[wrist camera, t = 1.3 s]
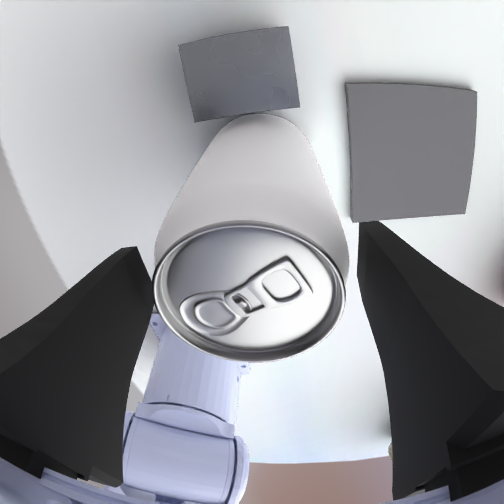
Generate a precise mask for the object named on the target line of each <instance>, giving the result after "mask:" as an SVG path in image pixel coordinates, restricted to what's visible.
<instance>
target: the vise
mask: <svg viewBox="0 0 504 504" xmlns="http://www.w3.org/2000/svg"><path fill="white" fill-rule="evenodd" d="M178 46H179V51H180V56H181V60H182V65H183V70H184V75H185V79H186V84H187V89H188V94H189V98H190V103H191V107H192V112H193V116H194V121H195V122H200V121H205V120H210V119H216V118H222V117H228V116H234V115H240V114H247V113H254V112H262V111H270V110H279V109H288V108H298V107H300V103H299V95H298V87H297V80H296V73H295V66H294V59H293V52H292V46H291V40H290V34H289V28H288V26H285V27H275V28H266V29H258V30H251V31H244V32H238V33H232V34H227V35H221V36H216V37H211V38H207V39H202V40H198V41H193V42H189V43H185V44H181V45H178Z"/></svg>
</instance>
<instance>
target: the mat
mask: <svg viewBox="0 0 504 504" xmlns="http://www.w3.org/2000/svg"><path fill="white" fill-rule="evenodd" d="M345 89H346V101H347V114H348V129H349V148H350V179H351V220H352V222H353V223H355V222H366V221H378V220H390V219H402V218H415V217H428V216H441V215H455V214H465V211H466V206H467V200H468V194H469V188H470V181H471V174H472V166H473V157H474V147H475V135H476V118H477V92H476V91H473V90H468V89H460V88H452V87H442V86H431V85H418V84H399V83H345Z"/></svg>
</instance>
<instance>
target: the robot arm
mask: <svg viewBox="0 0 504 504" xmlns="http://www.w3.org/2000/svg"><path fill="white" fill-rule="evenodd" d="M357 278H358V283H359V288H360V292H361V297H362V302H363V305H364V308H365V311H366V314H367V317H368V320H369V323H370V326H371V330H372V333H373V336H374V339H375V342H376V345H377V349H378V352H379V355H380V359H381V363H382V367H383V371H384V377H385V383H386V390H387V396H388V404H389V413H390V423H391V436H392V455H393V487H392V493H393V501H390V502H386V503H380V504H504V307H502V306H500V305H498V304H496V303H494V302H493V301H491V300H489V299H487V298H485V297H483V296H482V295H480V294H478V293H477V292H475V291H473V290H472V289H470V288H469V287H467V286H466V285H464V284H462V283H461V282H459V281H458V280H456V279H455V278H453V277H452V276H450V275H449V274H447V273H446V272H444V271H443V270H442V269H440V268H439V267H438V266H436V265H435V264H433V263H432V262H431V261H429V260H428V259H427V258H425V257H424V256H423V255H421V254H420V253H419V252H418V251H416V250H415V249H414V248H413V247H411V246H410V245H409V244H408V243H406V242H405V241H404V240H403V239H401V238H400V237H399V236H398V235H396V234H395V233H394V232H393V231H391V230H390V229H389V228H387V227H386V226H385V225H383V224H382V223H381V222H379V221H369V222H359V244H358V264H357ZM153 307H154V300H153V295H152V281H151V279H150V277H149V274H148V272H147V270H146V267H145V265H144V263H143V260H142V258H141V256H140V253H139V251H138V249H137V246H135V247H126V248H121V249H119V250H118V251H116V252H115V253H113V254H112V255H111V256H109V257H108V258H107V259H105V260H104V261H103V262H102V263H100V264H99V265H98V266H97V267H96V268H94V269H93V270H92V271H91V272H90V273H88V274H87V275H86V276H85V277H84V278H83V279H81V280H80V281H79V282H78V283H77V284H75V285H74V286H73V287H72V288H71V289H69V290H68V291H67V292H66V293H65V294H63V295H62V296H61V297H60V298H59V299H57V300H56V301H55V302H54V303H53V304H51V305H50V306H49V307H47V308H46V309H45V310H43V311H42V312H41V313H39V314H38V315H37V316H35V317H34V318H32V319H31V320H29V321H28V322H27V323H25V324H23V325H22V326H20V327H19V328H17V329H15V330H14V331H12V332H11V333H9V334H8V335H6V336H4V337H2V338H1V339H0V504H82V503H83V504H239V501H240V500H241V498H242V496H243V494H244V492H245V488H246V485H247V479H248V474H249V451H248V448H247V446H246V444H245V443H244V441H243V439H242V438H241V437H239V436H234V432H235V423H236V419H237V409H238V398H239V387H240V377H241V374H248V373H250V366H249V363H246V362H236V361H230V360H225V359H221V358H217V357H214V356H211V355H209V354H206V353H204V352H201V351H199V350H197V349H195V348H193V347H192V346H190V345H188V344H187V343H185V342H184V341H183V340H181V339H180V338H179V337H177V336H176V335H175V334H174V333H173V332H172V331H171V330H170V329H169V328H168V327H167V325H166V324H165V323H164V322H163V320H162V319H161V317H160V315H159V313H157V314H152V311H153ZM149 322H150V324H151V326H152V328H153V330H154V331H155V333H156V335H157V337H158V338H159V340H160V344H159V347H158V350H157V353H156V357H155V360H154V363H153V367H152V370H151V373H150V377H149V380H148V384H147V387H146V391H145V394H144V398H143V401H142V403H141V402H139V403H138V406H137V409H136V413H135V412H132V411H126V404H127V398H128V392H129V387H130V382H131V378H132V374H133V370H134V367H135V364H136V361H137V358H138V355H139V352H140V349H141V346H142V343H143V340H144V337H145V334H146V331H147V328H148V325H149ZM77 478H80V479H83V480H86V481H88V480H92V481H95V482H98V483H101V484H104V485H105V488H104V489H101V488H98V487H95V486H92V485H89V484H86V483H83V482H81V481H78V480H77ZM80 502H81V503H80Z"/></svg>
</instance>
